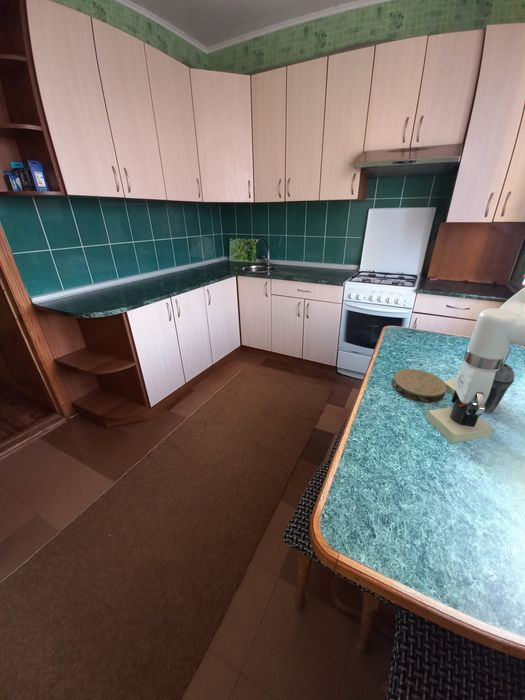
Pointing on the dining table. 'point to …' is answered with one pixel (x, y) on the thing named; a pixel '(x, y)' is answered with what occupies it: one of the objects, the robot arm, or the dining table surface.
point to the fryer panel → (457, 426)
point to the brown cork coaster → (419, 385)
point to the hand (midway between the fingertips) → (461, 413)
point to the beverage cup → (499, 385)
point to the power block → (450, 386)
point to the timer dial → (459, 410)
